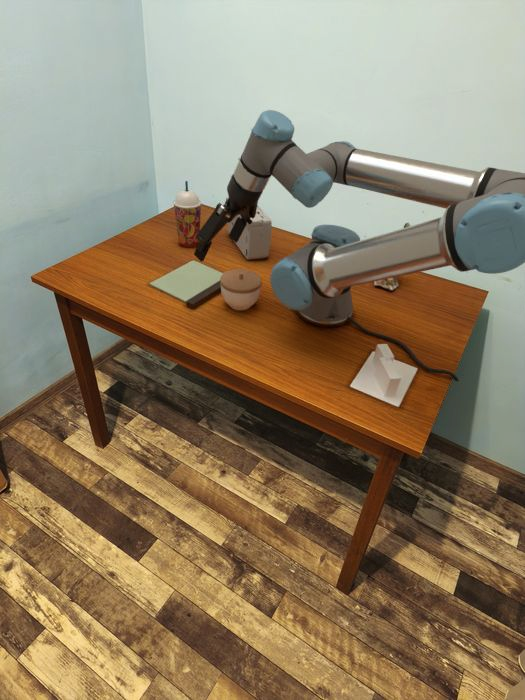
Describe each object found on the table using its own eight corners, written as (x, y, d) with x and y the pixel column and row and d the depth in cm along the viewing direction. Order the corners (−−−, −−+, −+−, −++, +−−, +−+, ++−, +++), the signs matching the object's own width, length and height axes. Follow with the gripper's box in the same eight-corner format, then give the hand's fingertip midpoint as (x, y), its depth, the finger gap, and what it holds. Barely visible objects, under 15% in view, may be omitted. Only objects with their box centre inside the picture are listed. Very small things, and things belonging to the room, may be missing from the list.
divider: (239, 279, 133) (240, 274, 132) (193, 309, 120) (192, 304, 119) (233, 276, 134) (233, 271, 133) (186, 305, 121) (186, 300, 120)
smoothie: (174, 238, 150) (170, 177, 137) (199, 236, 152) (197, 175, 140) (178, 250, 144) (174, 187, 131) (204, 248, 146) (203, 185, 134)
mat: (229, 277, 133) (229, 275, 133) (186, 303, 122) (186, 301, 121) (193, 261, 139) (193, 259, 139) (149, 284, 128) (149, 283, 127)
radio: (270, 259, 143) (275, 196, 130) (245, 263, 140) (248, 199, 128) (247, 231, 158) (249, 172, 145) (224, 233, 155) (225, 174, 142)
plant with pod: (406, 279, 139) (425, 216, 126) (391, 294, 131) (409, 229, 119) (382, 270, 142) (398, 208, 130) (365, 284, 135) (381, 220, 122)
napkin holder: (399, 407, 97) (406, 388, 93) (349, 386, 101) (354, 367, 97) (418, 368, 107) (425, 349, 103) (372, 350, 111) (377, 331, 107)
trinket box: (267, 301, 125) (269, 271, 119) (245, 320, 117) (247, 289, 111) (235, 289, 129) (235, 259, 123) (212, 306, 121) (211, 275, 115)
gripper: (268, 157, 109) (236, 222, 125) (198, 185, 92) (171, 255, 109) (291, 178, 108) (255, 240, 124) (224, 210, 92) (193, 277, 108)
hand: (216, 247), depth 116 cm, fingers open, 13 cm apart
